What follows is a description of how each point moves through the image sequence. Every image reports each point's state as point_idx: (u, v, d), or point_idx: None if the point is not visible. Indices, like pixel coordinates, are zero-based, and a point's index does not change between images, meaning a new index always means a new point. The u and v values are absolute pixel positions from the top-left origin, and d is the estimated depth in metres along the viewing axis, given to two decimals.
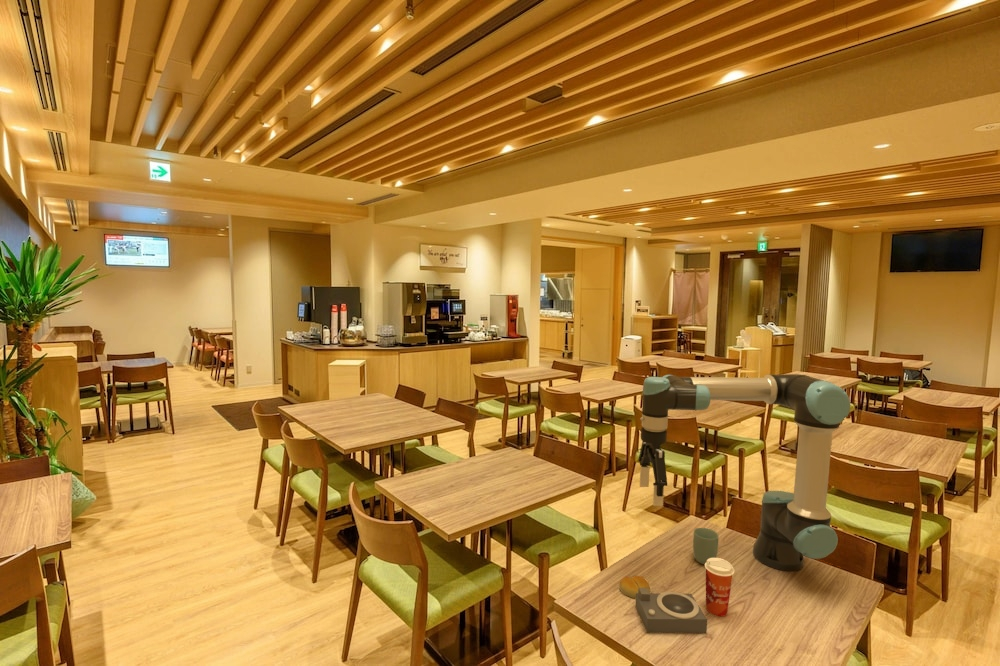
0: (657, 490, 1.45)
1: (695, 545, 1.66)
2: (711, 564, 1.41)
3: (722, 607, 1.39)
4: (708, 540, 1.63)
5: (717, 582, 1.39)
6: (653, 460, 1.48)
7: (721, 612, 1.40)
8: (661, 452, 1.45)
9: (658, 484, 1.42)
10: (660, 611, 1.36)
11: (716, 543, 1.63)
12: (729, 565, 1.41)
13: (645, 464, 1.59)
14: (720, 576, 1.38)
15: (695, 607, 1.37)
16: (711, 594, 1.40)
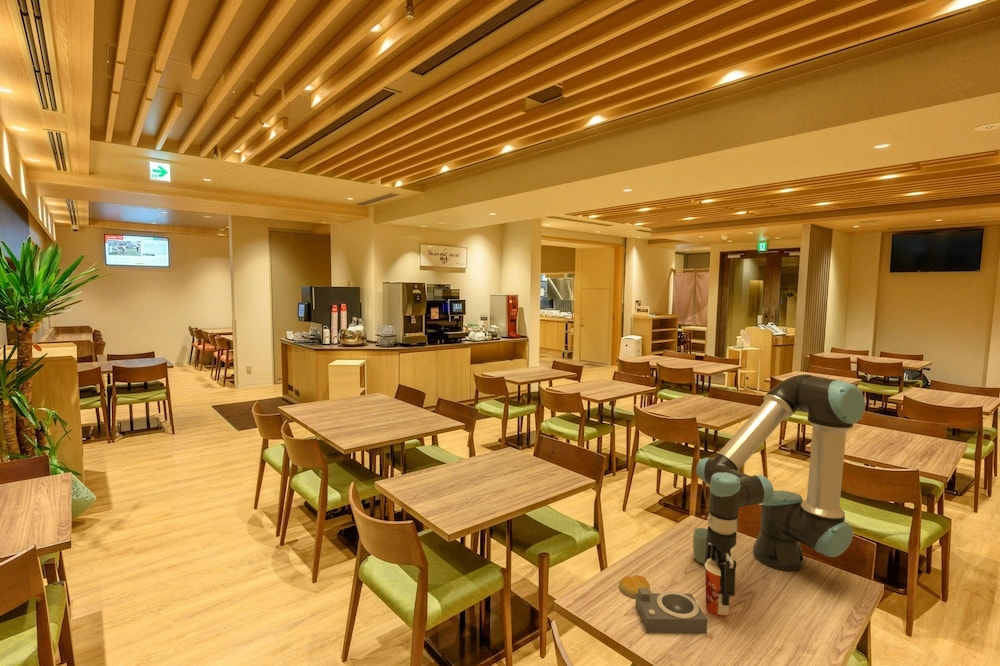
0: (723, 599, 1.37)
1: (695, 545, 1.66)
2: (711, 564, 1.41)
3: None
4: None
5: (717, 582, 1.39)
6: (721, 566, 1.38)
7: None
8: (732, 564, 1.34)
9: (725, 595, 1.35)
10: (660, 611, 1.36)
11: None
12: None
13: None
14: (720, 576, 1.38)
15: (695, 607, 1.37)
16: (711, 594, 1.40)
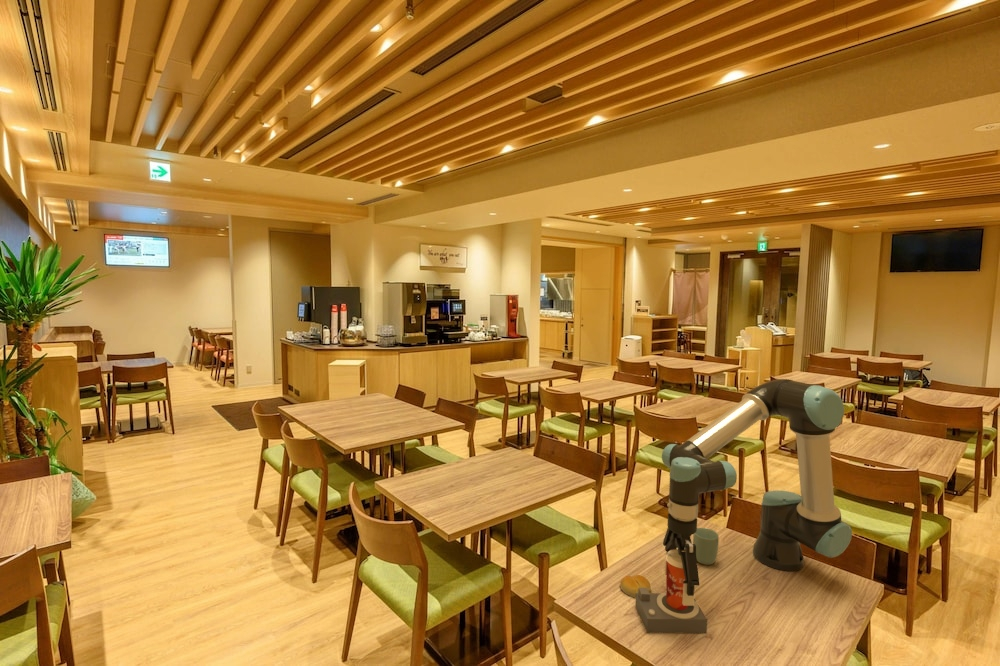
0: (687, 588, 1.29)
1: None
2: (672, 556, 1.36)
3: None
4: (708, 540, 1.63)
5: (677, 575, 1.34)
6: (682, 553, 1.32)
7: (681, 605, 1.35)
8: (692, 546, 1.29)
9: (689, 584, 1.27)
10: (660, 611, 1.36)
11: (716, 543, 1.63)
12: None
13: None
14: (680, 568, 1.33)
15: (695, 607, 1.37)
16: (671, 586, 1.35)
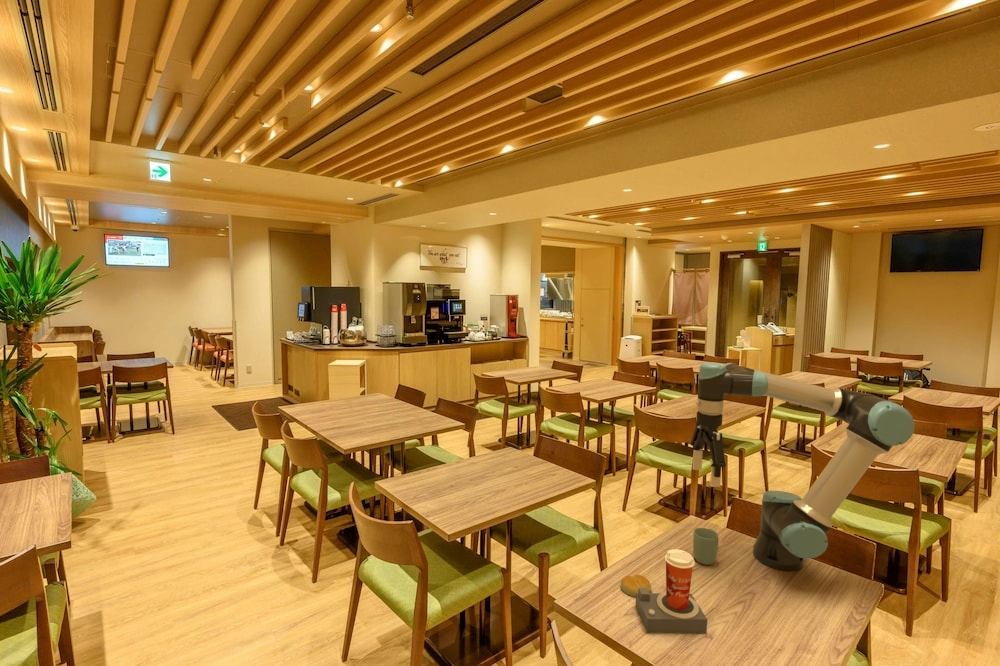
0: (715, 471, 1.50)
1: (695, 545, 1.66)
2: (671, 556, 1.36)
3: (682, 601, 1.35)
4: (708, 540, 1.63)
5: (676, 575, 1.34)
6: (710, 443, 1.53)
7: (681, 605, 1.35)
8: (719, 434, 1.50)
9: (717, 465, 1.48)
10: (660, 611, 1.36)
11: (716, 543, 1.63)
12: (689, 557, 1.36)
13: (698, 448, 1.65)
14: (679, 568, 1.33)
15: (695, 607, 1.37)
16: (671, 586, 1.35)
